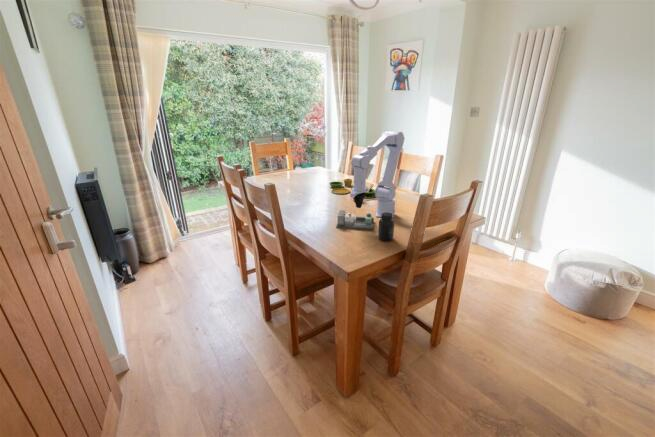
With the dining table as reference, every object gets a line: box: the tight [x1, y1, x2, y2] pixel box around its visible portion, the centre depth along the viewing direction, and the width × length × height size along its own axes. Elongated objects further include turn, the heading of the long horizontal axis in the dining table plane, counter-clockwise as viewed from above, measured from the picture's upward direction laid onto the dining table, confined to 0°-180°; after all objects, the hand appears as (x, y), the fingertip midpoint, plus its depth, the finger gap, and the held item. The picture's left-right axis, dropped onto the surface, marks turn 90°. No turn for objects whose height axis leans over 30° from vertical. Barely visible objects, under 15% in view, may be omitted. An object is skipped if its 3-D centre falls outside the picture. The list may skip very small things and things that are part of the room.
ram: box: [364, 212, 373, 224], centre depth 147 cm, size 3×7×5 cm, turn 170°
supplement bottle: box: [377, 212, 395, 243], centre depth 132 cm, size 7×7×12 cm
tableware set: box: [328, 178, 378, 202], centre depth 200 cm, size 41×28×6 cm
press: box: [335, 209, 375, 231], centre depth 148 cm, size 18×11×6 cm, turn 80°
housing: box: [345, 212, 355, 225], centre depth 149 cm, size 4×4×5 cm
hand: (358, 207), depth 146 cm, fingers closed
